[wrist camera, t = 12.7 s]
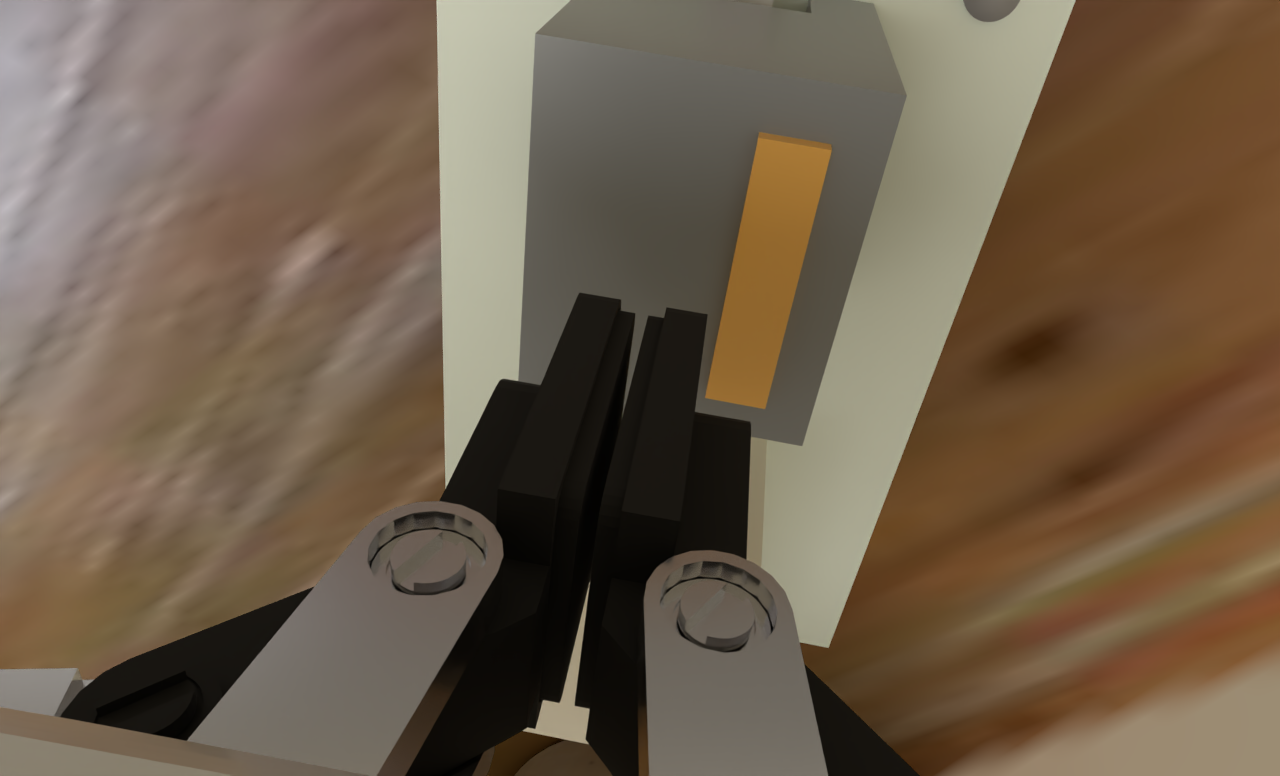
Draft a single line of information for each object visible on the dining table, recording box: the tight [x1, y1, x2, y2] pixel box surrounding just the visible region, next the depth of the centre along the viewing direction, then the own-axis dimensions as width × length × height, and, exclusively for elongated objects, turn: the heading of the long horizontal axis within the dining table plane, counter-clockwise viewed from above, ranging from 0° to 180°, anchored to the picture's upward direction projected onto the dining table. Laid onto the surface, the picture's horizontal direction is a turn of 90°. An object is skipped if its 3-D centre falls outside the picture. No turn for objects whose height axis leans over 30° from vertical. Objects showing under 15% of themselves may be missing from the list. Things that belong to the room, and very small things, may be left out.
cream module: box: [522, 437, 767, 744], centre depth 21 cm, size 6×5×6 cm
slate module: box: [518, 0, 907, 446], centre depth 16 cm, size 6×5×6 cm
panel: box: [437, 0, 1076, 648], centre depth 21 cm, size 20×12×2 cm, turn 173°
